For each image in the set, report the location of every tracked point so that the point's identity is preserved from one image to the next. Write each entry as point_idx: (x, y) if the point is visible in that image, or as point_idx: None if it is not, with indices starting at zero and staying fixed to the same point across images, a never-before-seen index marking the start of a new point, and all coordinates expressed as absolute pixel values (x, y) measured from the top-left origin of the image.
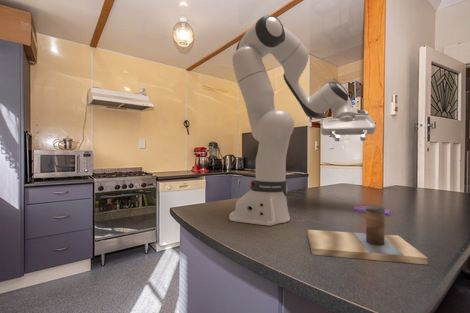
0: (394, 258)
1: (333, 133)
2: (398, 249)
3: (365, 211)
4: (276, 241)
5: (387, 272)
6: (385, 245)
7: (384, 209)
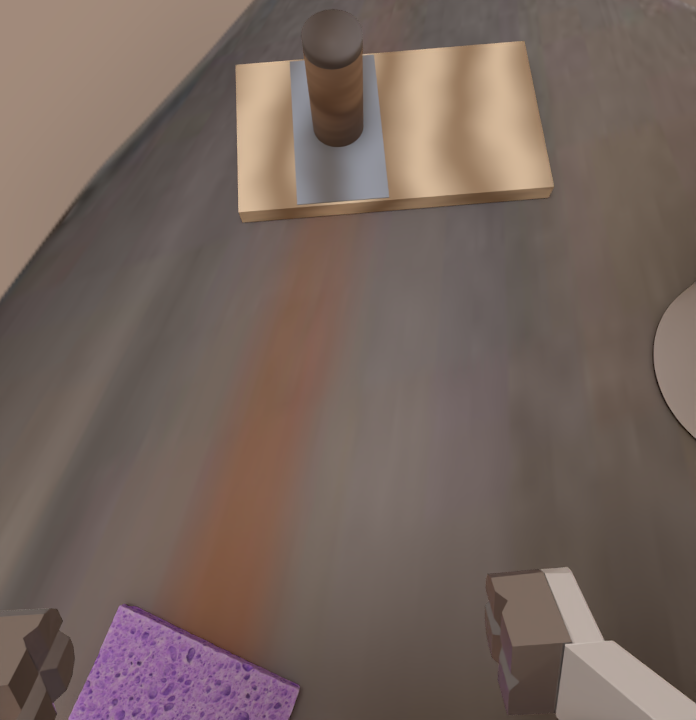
0: None
1: (667, 692)
2: (287, 96)
3: (235, 655)
4: (640, 111)
5: None
6: None
7: (305, 26)
